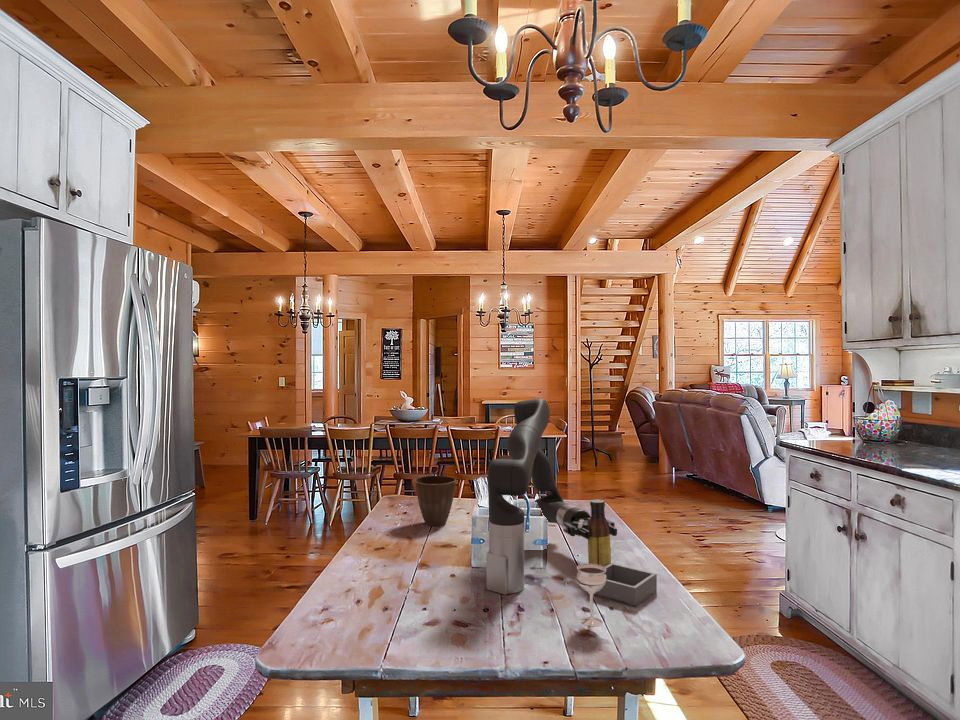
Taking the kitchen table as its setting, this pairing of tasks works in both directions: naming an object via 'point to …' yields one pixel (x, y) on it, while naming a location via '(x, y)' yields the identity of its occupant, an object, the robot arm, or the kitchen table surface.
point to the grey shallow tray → (627, 585)
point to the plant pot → (435, 498)
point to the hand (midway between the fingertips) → (602, 533)
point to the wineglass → (591, 587)
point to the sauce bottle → (598, 535)
